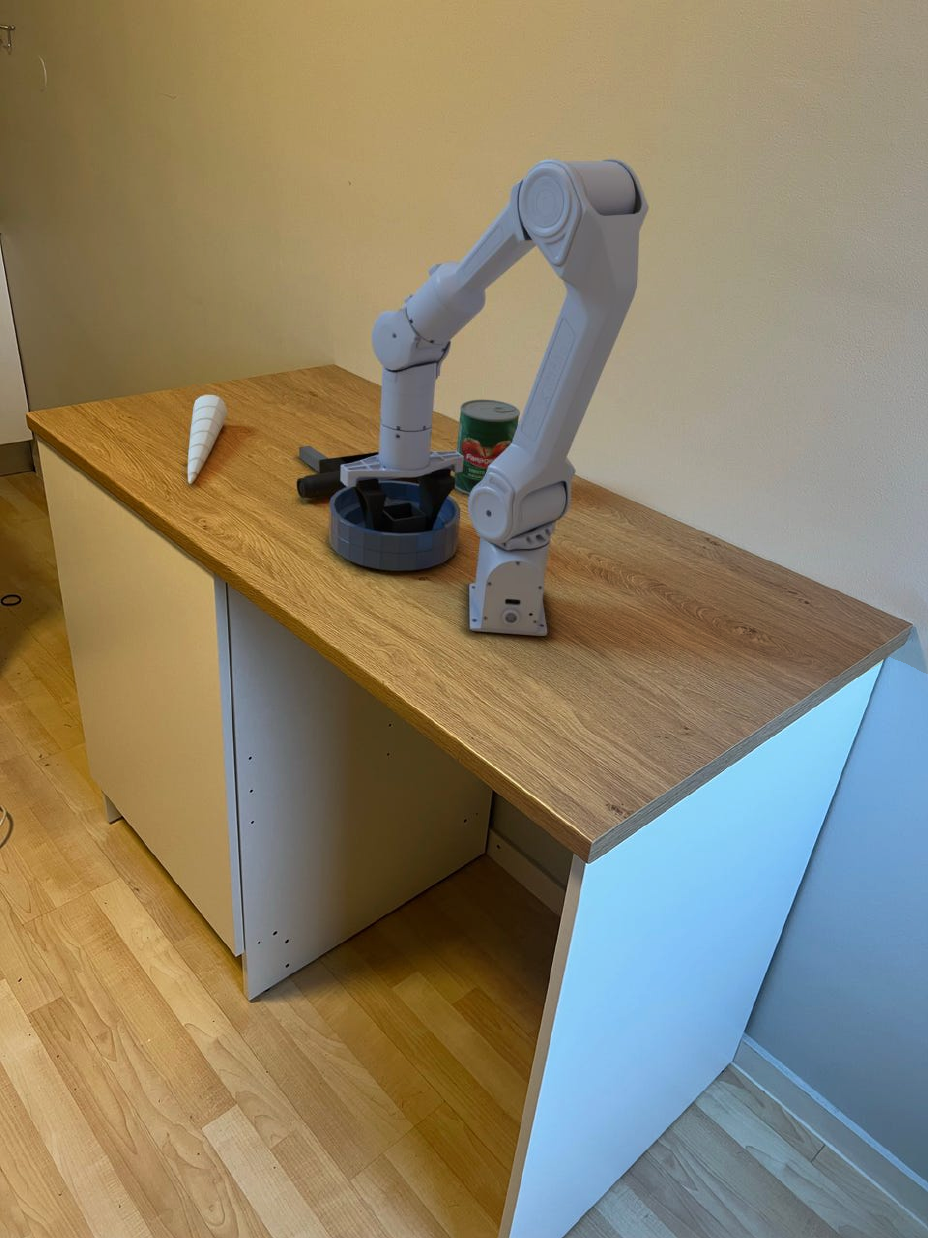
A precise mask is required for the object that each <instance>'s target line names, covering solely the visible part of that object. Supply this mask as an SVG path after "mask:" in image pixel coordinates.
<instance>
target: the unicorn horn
mask: <svg viewBox="0 0 928 1238" xmlns="http://www.w3.org/2000/svg"><path fill="white" fill-rule="evenodd" d="M191 415H192V416H191V422H190V423H191V424H190V432H189V442H188V454H187V481H188V484H189V485H191V484H192V483H194V481H195V480H196V479H197V477H198V476H199V473H200V472H201V471H202V469H203V466H204V465H205V462H206V461H207V458H208V457H209V455H210V453H211V451H212V449H213V447H214V444H215V443H216V441H217V439H218V436H219V434H220V432H221V429H222V428H223V426H224V423H226V419H227V416H228V409H227V405H226V404H225V401H224V400H223V399H222V398H221V397H220V396H218V395H215V394H204V395H200V396H199V397H197V399H195V401H194V404H193V407H192V414H191Z"/></svg>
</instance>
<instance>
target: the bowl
mask: <svg viewBox="0 0 928 1238" xmlns="http://www.w3.org/2000/svg"><path fill="white" fill-rule="evenodd" d="M378 484H379V485H381V490H382V491H383V492H385V493H386V494H387V498H389V499H390V500H391V501H392V502H393V503H394V504H397V503H403V502H410V501H411V502H412V503H413V504H415V505H416V506H417V507H418V508H419V502H420V493H419V483H417V482H414V483H411V482H403V481H378ZM330 497H331V498H330V501H329V503H328V538H327V539H328V542H329V545H330V547H331V548H332V549H333V550H334V551H335V552H336V553H337V555H339V556H341V557H342V558H344V559H346V560H347V561H349V562H352V563H354V564H357V565H359V566H363V567H368V568H372V569H376V570H382V571H391V572H393V571H394V572H405V571H407V572H408V571H417V570H423V569H428V568H429V569H430V568H432V567H435V566H438V565H440V564H443V563H445V562H446V561H448V560H449V559H451V558H452V557H453V556H454V555H455V553H456V552H457V550H458V543H459V533H460V523H461V507H460V506H459V504H458V502H457V501H456V500H455V499H454V498H452V497H451V496H450V494H449V495H448V497H447V498H446V500H445V501H444V503H443V505H442V507H441V509H440V511H439V513H438V516H437V518H436V521H435V524H434V527H433V530H431V531H425V532H419V533H403V534H399V533H386V532H379V531H374V530H369V529H366V527H365V522H364V518H363V514H362V511H361V508H360V505H359V502H358V500H357V498H356V495H355V493H354V491H353V489H352V487H345V488H343V489H342V490H340V491H338V492H337V493H335V494H334V495H332V496H330Z"/></svg>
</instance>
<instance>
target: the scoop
mask: <svg viewBox="0 0 928 1238" xmlns="http://www.w3.org/2000/svg"><path fill="white" fill-rule="evenodd" d="M427 518H428V516H427V515H426V514H425V513H424V512H423V511H422V510H420V509H419V508H418V507H417V506H416V505H415V504H413V503H412V502H411V501H410V502H403V503H397V504H394V503H393V502H392V501H391V500H390V499H389V498H387V497H386V500H385V503H384V507H383V512H382V519H381V532H386V533H399V534H403V533H419V532H425V531H427Z"/></svg>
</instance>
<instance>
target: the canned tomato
mask: <svg viewBox="0 0 928 1238" xmlns="http://www.w3.org/2000/svg"><path fill="white" fill-rule="evenodd" d="M520 414H521V412H520V409H519V408H518V407H516V406H515V405H513V404H511V403H508V402H504V401H501V400H495V399H471V400H467V401H465V402H463V403H462V404H461V405H460V415H459V423H458V433H457V443H456V451H457V452H458V453H460V454H461V455H462V456H464V460H463V471H462V472H457V473H455V472H454V476H453V477H454V478H455V479H456V483H455V488H454V489H456V490H457V491H458V492H460V493H462V494H465V495H468V496H470V493H471V491H472V489H473V488H474V487H475V486H476V485H477V484H478V483H479V482H481V481H482V479H483V478H484V476H485V474H486V472H487V469H488V466H489V465H490V464H491V463H492V462H493V461H494V460H495V459H496V458H497V457H498V456H499V455H500V454H501V453H502V452H503V451H504V450H505V449H506V448H507V447H508V446H509V445H510V444H511V443H512V441H513V438H514V435H515V433H516V430H517V427H518V424H519V421H520V419H519V418H520Z"/></svg>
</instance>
